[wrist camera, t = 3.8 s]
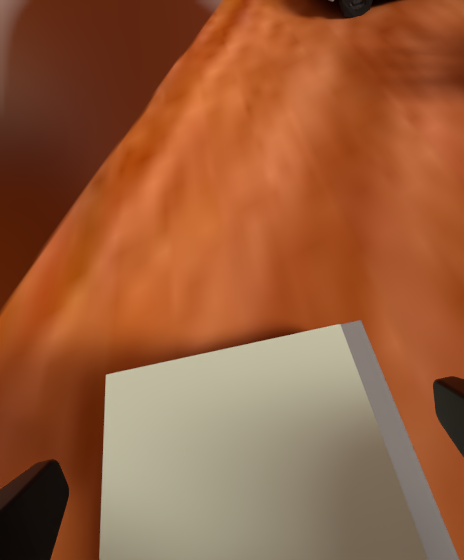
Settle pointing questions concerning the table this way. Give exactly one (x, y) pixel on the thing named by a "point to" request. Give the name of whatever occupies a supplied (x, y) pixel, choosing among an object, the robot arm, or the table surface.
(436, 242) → the table surface
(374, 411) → the holder
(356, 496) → the sage block
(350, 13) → the miniature car
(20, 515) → the robot arm
